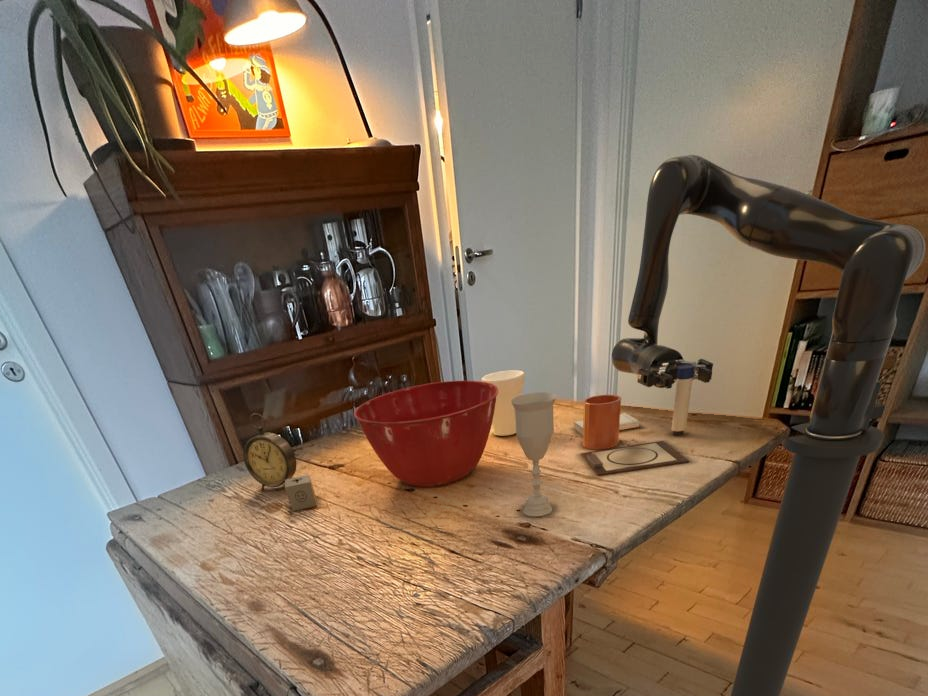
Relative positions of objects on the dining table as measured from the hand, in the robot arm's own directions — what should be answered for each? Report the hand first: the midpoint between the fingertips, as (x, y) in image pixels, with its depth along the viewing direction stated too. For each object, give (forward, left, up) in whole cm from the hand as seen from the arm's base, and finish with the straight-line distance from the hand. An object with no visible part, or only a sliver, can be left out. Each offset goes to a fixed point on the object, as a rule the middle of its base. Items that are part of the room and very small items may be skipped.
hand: (689, 379), depth 101 cm
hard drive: (+12, -14, -11) cm, 22 cm away
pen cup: (+16, -4, -11) cm, 20 cm away
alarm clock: (+88, -7, -11) cm, 89 cm away
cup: (+34, -22, -11) cm, 42 cm away
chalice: (+35, +26, -11) cm, 45 cm away
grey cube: (+80, +6, -11) cm, 81 cm away
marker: (0, -2, -11) cm, 11 cm away
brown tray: (+13, +8, -11) cm, 19 cm away
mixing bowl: (+52, +1, -11) cm, 53 cm away
